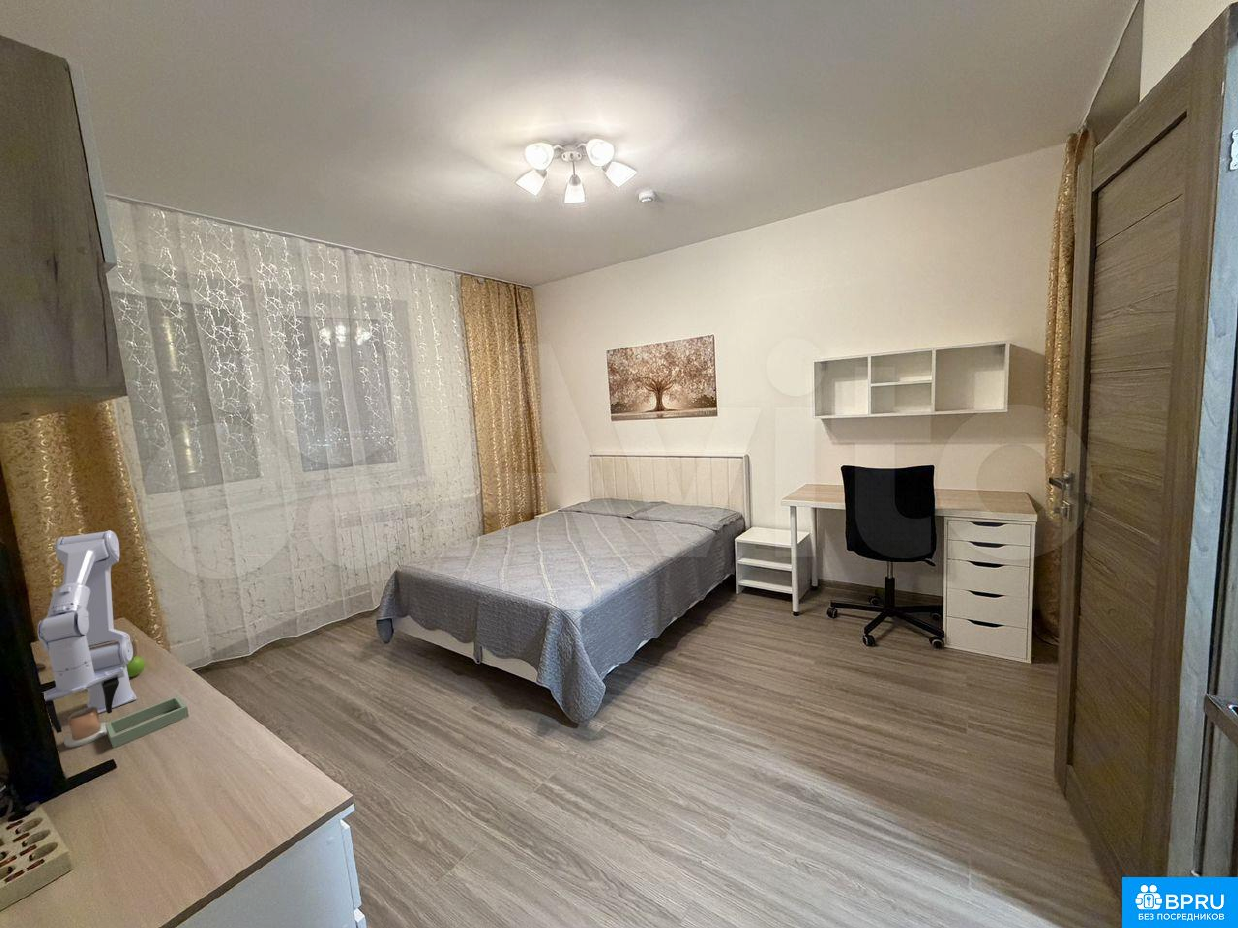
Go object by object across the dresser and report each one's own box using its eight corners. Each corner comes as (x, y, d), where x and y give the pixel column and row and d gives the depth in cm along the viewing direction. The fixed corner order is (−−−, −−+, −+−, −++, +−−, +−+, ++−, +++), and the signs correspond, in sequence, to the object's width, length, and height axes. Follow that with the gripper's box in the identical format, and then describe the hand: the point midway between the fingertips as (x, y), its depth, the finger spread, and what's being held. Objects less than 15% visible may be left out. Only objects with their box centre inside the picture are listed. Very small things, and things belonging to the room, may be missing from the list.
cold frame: (107, 734, 109) (105, 724, 109) (180, 704, 119) (178, 695, 119) (113, 748, 104) (111, 737, 104) (188, 716, 114) (187, 706, 114)
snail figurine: (132, 681, 132) (124, 641, 130) (114, 680, 133) (106, 640, 132) (154, 671, 137) (147, 631, 136) (137, 670, 138) (129, 631, 137)
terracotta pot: (70, 736, 108) (65, 715, 107) (98, 724, 111) (94, 704, 111) (74, 742, 105) (69, 721, 105) (103, 730, 109) (98, 709, 108)
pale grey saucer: (63, 740, 108) (62, 736, 108) (108, 722, 113) (107, 718, 113) (66, 752, 104) (65, 747, 104) (112, 733, 109) (112, 729, 109)
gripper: (21, 686, 98) (36, 746, 100) (121, 654, 110) (132, 709, 111) (20, 676, 103) (34, 734, 104) (116, 647, 114) (127, 699, 116)
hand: (84, 720), depth 108 cm, fingers open, 7 cm apart
